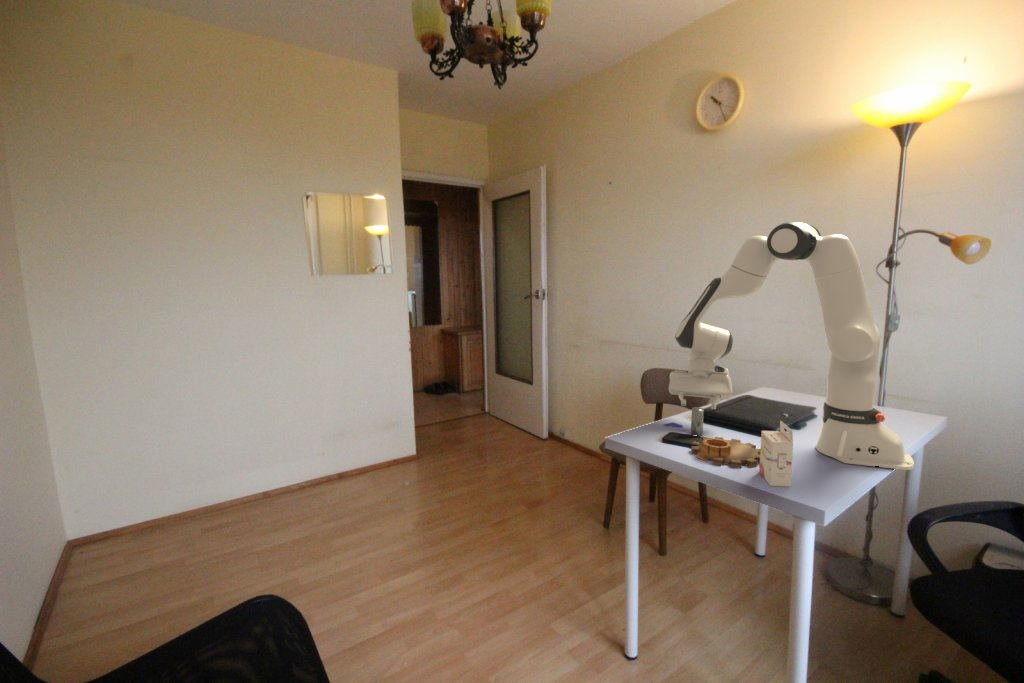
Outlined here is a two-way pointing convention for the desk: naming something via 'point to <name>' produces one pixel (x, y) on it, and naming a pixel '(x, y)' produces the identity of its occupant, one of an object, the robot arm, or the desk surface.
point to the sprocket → (727, 452)
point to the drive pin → (697, 421)
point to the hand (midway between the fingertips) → (698, 406)
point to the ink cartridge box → (776, 456)
